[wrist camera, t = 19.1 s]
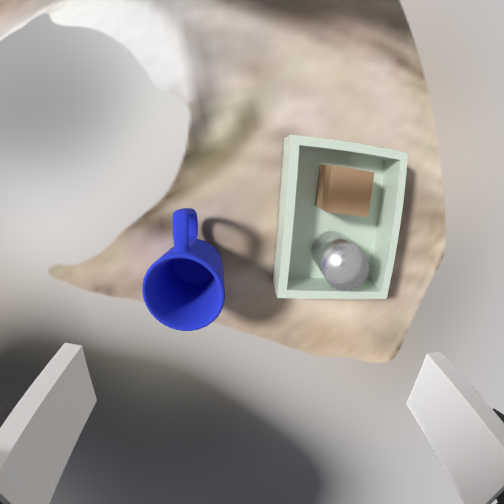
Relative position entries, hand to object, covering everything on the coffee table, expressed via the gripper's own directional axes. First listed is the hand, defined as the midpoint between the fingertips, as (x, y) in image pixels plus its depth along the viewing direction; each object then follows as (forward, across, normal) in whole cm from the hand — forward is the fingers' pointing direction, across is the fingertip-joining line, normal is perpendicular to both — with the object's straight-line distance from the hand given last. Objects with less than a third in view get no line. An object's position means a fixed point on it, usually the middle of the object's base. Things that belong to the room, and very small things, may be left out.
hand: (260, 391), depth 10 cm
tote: (+29, +11, +2) cm, 31 cm away
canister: (+28, +11, -2) cm, 30 cm away
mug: (+29, -6, -3) cm, 30 cm away
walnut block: (+28, +11, +6) cm, 31 cm away
